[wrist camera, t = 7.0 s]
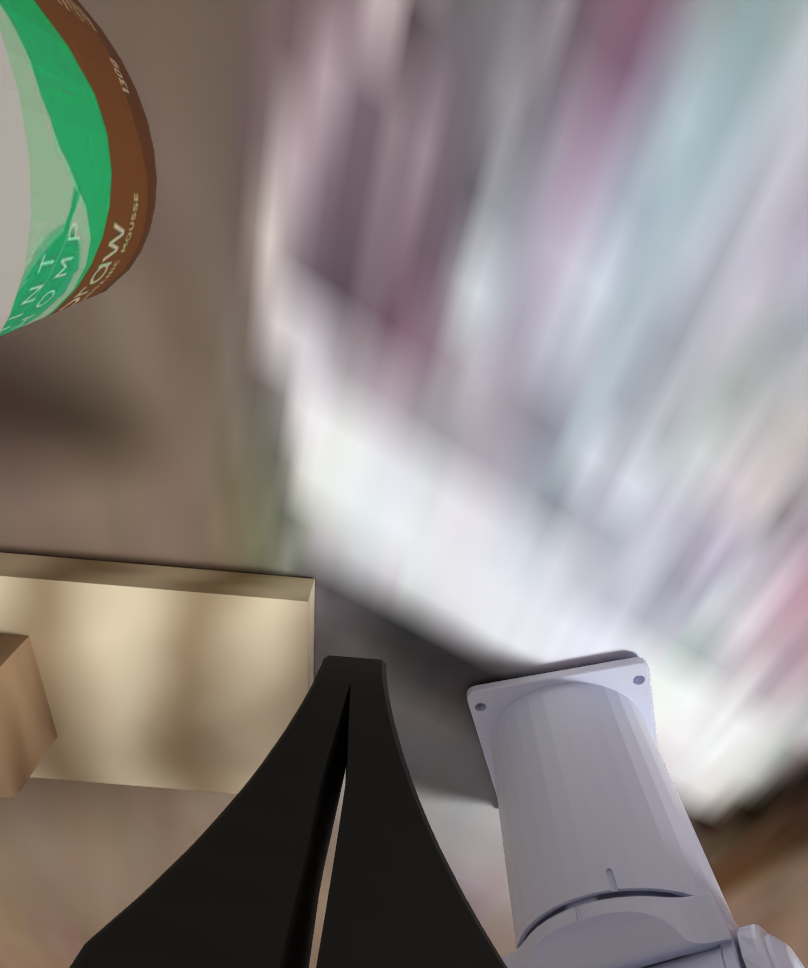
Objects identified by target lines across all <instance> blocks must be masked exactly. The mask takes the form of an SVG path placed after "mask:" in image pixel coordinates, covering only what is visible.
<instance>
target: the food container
mask: <svg viewBox="0 0 808 968" xmlns="http://www.w3.org/2000/svg"><path fill="white" fill-rule="evenodd" d="M156 182H157V177H156V166H155V155H154V148H153V143H152V139H151V135H150V130H149V126H148V121H147V118H146V115H145V113H144V110H143V107H142V104H141V101H140V99H139V96H138V93H137V90H136V88H135V86H134V84H133V82H132V80H131V78H130V76H129V74H128V72H127V70H126V68H125V66H124V64H123V62H122V60H121V58H120V57H119V55H118V54H117V52H116V51H115V49H114V48H113V46H112V44H111V43H110V41H109V40H108V38H107V37H106V35H105V34H104V32H103V31H102V29H101V28H100V27H99V26H98V24H97V23H96V22H95V21H94V20H93V18H92V17H91V16H90V15H89V14H88V12H87V11H86V10H85V9H84V7H83V6H82V5H81V4H80V3H79V2H78V1H77V0H0V336H2V335H4V334H6V333H9V332H11V331H13V330H16V329H18V328H20V327H23V326H25V325H27V324H30V323H32V322H34V321H37V320H39V319H41V318H44V317H46V316H48V315H51V314H53V313H55V312H58V311H60V310H62V309H65V308H67V307H69V306H72V305H74V304H76V303H79V302H81V301H83V300H85V299H88V298H90V297H92V296H95V295H97V294H99V293H102V292H104V291H106V290H107V289H108V288H109V287H110V286H112V285H113V284H114V283H115V282H116V281H117V280H118V279H119V278H120V277H121V276H122V275H123V274H125V273H126V272H127V271H128V270H129V269H130V267H131V266H132V264H133V263H134V261H135V260H136V258H137V257H138V255H139V254H140V252H141V250H142V248H143V246H144V243H145V241H146V238H147V236H148V233H149V231H150V227H151V223H152V218H153V214H154V209H155V200H156Z"/></svg>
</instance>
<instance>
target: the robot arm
mask: <svg viewBox="0 0 808 968" xmlns="http://www.w3.org/2000/svg"><path fill="white" fill-rule="evenodd" d="M636 676H639V677H637V678H635V677H636ZM467 701H468V704H469V708H470V711H471V714H472V717H473V721H474V724H475V727H476V730H477V734H478V737H479V740H480V743H481V747H482V750H483V753H484V756H485V760H486V763H487V766H488V769H489V773H490V776H491V779H492V782H493V786H494V789H495V792H496V795H497V799H498V807H499V815H500V823H501V830H502V838H503V846H504V854H505V861H506V869H507V877H508V885H509V893H510V900H511V908H512V916H513V924H514V932H515V939H516V947H517V950H515V951H513V952H512V953H510V954H507V955H505V956H502V957H500V955H499V954H498V952H497V950H496V949H495V947H494V946H493V944H492V942H491V941H490V939H489V937H488V936H487V934H486V932H485V931H484V929H483V927H482V926H481V924H480V922H479V920H478V919H477V917H476V915H475V913H474V912H473V910H472V908H471V906H470V905H469V903H468V901H467V899H466V898H465V896H464V894H463V892H462V890H461V888H460V886H459V884H458V882H457V880H456V878H455V876H454V874H453V872H452V870H451V868H450V867H449V865H448V863H447V861H446V859H445V857H444V855H443V853H442V851H441V849H440V847H439V844H438V842H437V840H436V838H435V836H434V833H433V831H432V829H431V827H430V825H429V822H428V820H427V817H426V815H425V813H424V810H423V808H422V805H421V803H420V800H419V798H418V795H417V793H416V790H415V787H414V785H413V782H412V779H411V776H410V773H409V770H408V767H407V764H406V761H405V758H404V755H403V752H402V749H401V745H400V742H399V738H398V734H397V731H396V727H395V723H394V719H393V715H392V710H391V705H390V700H389V695H388V688H387V679H386V664H385V663H384V662H383V661H382V660H377V659H365V658H353V657H341V656H327V657H326V658H324V659H323V662H322V665H321V667H320V669H319V671H318V674H317V676H316V678H315V680H314V682H313V684H312V686H311V687H310V689H309V691H308V693H307V695H306V696H305V698H304V700H303V702H302V704H301V705H300V707H299V708H298V710H297V712H296V713H295V715H294V716H293V718H292V720H291V721H290V723H289V725H288V726H287V728H286V729H285V731H284V732H283V734H282V735H281V737H280V738H279V740H278V741H277V742H276V744H275V745H274V747H273V748H272V750H271V751H270V752H269V754H268V755H267V757H266V758H265V759H264V761H263V762H262V764H261V765H260V766H259V768H258V769H257V770H256V772H255V773H254V774H253V776H252V777H251V778H250V779H249V781H248V782H247V783H246V784H245V786H244V787H243V788H242V789H241V791H240V792H239V793H238V794H237V795H236V797H235V798H234V799H233V800H232V802H231V803H230V804H229V805H228V806H227V807H226V808H225V810H224V811H223V812H222V813H221V814H220V815H219V816H218V817H217V819H216V820H215V821H214V822H213V823H212V824H211V825H210V826H209V828H208V829H207V830H206V831H205V832H204V833H203V834H202V835H201V836H200V837H199V838H198V839H197V841H196V842H195V843H194V844H193V845H192V846H191V847H190V848H189V849H188V850H187V851H186V852H185V853H184V854H183V855H182V856H181V857H180V858H179V859H178V860H177V861H176V862H175V863H174V864H173V865H172V866H171V867H170V868H168V869H167V870H166V871H165V872H164V873H163V874H162V875H161V876H160V877H159V878H158V879H157V880H156V881H155V882H154V883H153V884H152V885H151V886H150V887H149V888H148V889H147V890H146V891H145V892H144V893H142V894H141V895H140V896H139V897H138V898H137V899H136V900H135V901H134V902H132V903H131V904H130V905H129V906H128V907H127V908H126V909H124V910H123V911H122V912H121V913H120V914H119V915H117V916H116V917H115V918H114V919H113V920H112V921H111V922H109V923H108V924H107V925H106V926H105V927H104V928H103V929H101V930H100V931H99V932H98V933H97V934H96V935H94V936H93V937H92V938H91V939H90V940H89V941H88V942H87V943H86V944H85V945H84V946H83V948H82V949H81V951H80V952H79V954H78V955H77V957H76V958H75V960H74V962H73V963H72V965H71V966H70V968H309V962H310V955H311V947H312V940H313V933H314V926H315V919H316V912H317V904H318V897H319V891H320V886H321V880H322V875H323V870H324V865H325V861H326V856H327V851H328V847H329V842H330V838H331V833H332V829H333V824H334V820H335V815H336V811H337V806H338V802H339V797H340V792H341V788H342V783H343V779H344V774H345V769H346V782H345V791H344V798H343V805H342V811H341V818H340V825H339V831H338V838H337V844H336V851H335V857H334V863H333V870H332V876H331V882H330V888H329V894H328V901H327V907H326V913H325V919H324V925H323V931H322V937H321V943H320V948H319V954H318V960H317V966H316V968H804V966H803V965H802V963H801V962H800V960H799V959H798V957H797V956H796V954H795V953H794V952H793V950H792V949H791V948H790V947H789V946H788V945H787V944H786V943H784V942H782V941H780V940H779V939H777V938H775V937H774V936H772V935H770V934H768V933H767V932H766V931H765V930H764V929H763V928H762V927H760V926H759V925H757V924H751V925H748V926H744V927H741V928H739V927H738V926H737V924H736V923H735V922H734V920H733V917H732V915H731V913H730V910H729V908H728V906H727V904H726V901H725V899H724V897H723V895H722V892H721V890H720V888H719V886H718V883H717V881H716V879H715V876H714V874H713V872H712V870H711V867H710V865H709V863H708V861H707V858H706V856H705V854H704V852H703V849H702V847H701V845H700V842H699V840H698V838H697V836H696V833H695V831H694V829H693V827H692V824H691V822H690V820H689V818H688V815H687V813H686V811H685V808H684V806H683V804H682V802H681V799H680V797H679V795H678V793H677V790H676V788H675V786H674V784H673V781H672V779H671V777H670V774H669V772H668V770H667V768H666V765H665V763H664V761H663V759H662V756H661V754H660V752H659V749H658V743H657V734H656V725H655V716H654V707H653V697H652V688H651V679H650V670H649V667H648V665H647V663H646V661H645V660H644V659H643V658H639V657H633V658H628V659H622V660H616V661H611V662H605V663H599V664H594V665H588V666H583V667H577V668H571V669H566V670H560V671H554V672H549V673H543V674H537V675H532V676H526V677H520V678H515V679H509V680H503V681H498V682H492V683H486V684H481V685H475V686H472V687H470V688H469V689H468V691H467ZM478 703H483V704H478Z"/></svg>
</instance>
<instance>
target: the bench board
mask: <svg viewBox="0 0 808 968" xmlns="http://www.w3.org/2000/svg"><path fill="white" fill-rule="evenodd" d="M314 604H315V579H311V578H299V577H287V576H275V575H263V574H251V573H239V572H227V571H215V570H204V569H192V568H180V567H168V566H156V565H144V564H132V563H120V562H108V561H96V560H85V559H73V558H61V557H49V556H37V555H25V554H13V553H1V552H0V633H3V634H15V635H27V636H29V637H30V640H31V644H32V647H33V651H34V654H35V658H36V662H37V665H38V669H39V672H40V676H41V679H42V683H43V686H44V690H45V693H46V697H47V701H48V704H49V708H50V711H51V715H52V718H53V722H54V725H55V729H56V733H57V736H58V737H57V738H56V740H55V741H54V743H53V744H52V746H51V747H50V748H49V750H48V751H47V753H46V754H45V756H44V757H43V758H42V760H41V761H40V763H39V764H38V766H37V767H36V768H35V770H34V771H33V773H32V774H31V776H30V777H34V778H47V779H59V780H72V781H84V782H96V783H109V784H121V785H134V786H146V787H159V788H171V789H183V790H196V791H208V792H221V793H233V794H238V793H239V792H240V791H241V789H242V788H243V787H244V786H245V784H246V783H247V782H248V781H249V779H250V778H251V777H252V776H253V774H254V773H255V772H256V770H257V769H258V768H259V766H260V765H261V764H262V762H263V761H264V759H265V758H266V757H267V755H268V754H269V752H270V751H271V750H272V748H273V747H274V745H275V744H276V742H277V741H278V740H279V738H280V737H281V735H282V734H283V732H284V731H285V729H286V728H287V726H288V725H289V723H290V721H291V720H292V718H293V716H294V715H295V713H296V712H297V710H298V708H299V707H300V705H301V704H302V702H303V700H304V698H305V696H306V695H307V693H308V691H309V689H310V687H311V686H312V684H313V682H314Z"/></svg>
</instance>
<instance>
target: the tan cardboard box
mask: <svg viewBox="0 0 808 968" xmlns="http://www.w3.org/2000/svg"><path fill="white" fill-rule="evenodd" d="M57 737H58V736H57V733H56V729H55V725H54V722H53V718H52V715H51V711H50V708H49V704H48V701H47V697H46V693H45V690H44V686H43V683H42V679H41V676H40V672H39V669H38V665H37V662H36V658H35V654H34V651H33V647H32V644H31V640H30V637H29V636H27V635H15V634H3V633H0V798H12V799H15V797H16V796H17V794H18V793H19V791H20V790H21V789H22V787H23V786H24V784H25V783H26V781H27V780H28V778H29V777H30V776H31V774H32V773H33V771H34V770H35V768H36V767H37V766H38V764H39V763H40V761H41V760H42V758H43V757H44V756H45V754H46V753H47V751H48V750H49V748H50V747H51V746H52V744H53V743H54V741H55V740H56V738H57Z"/></svg>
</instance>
